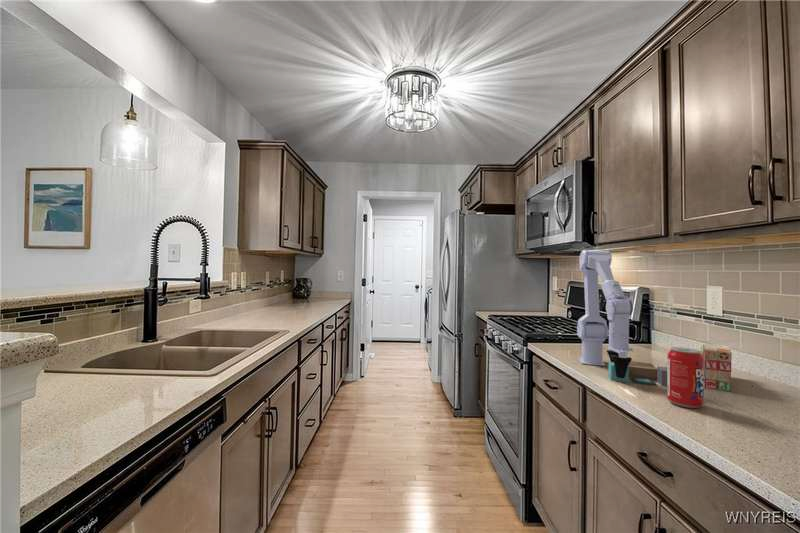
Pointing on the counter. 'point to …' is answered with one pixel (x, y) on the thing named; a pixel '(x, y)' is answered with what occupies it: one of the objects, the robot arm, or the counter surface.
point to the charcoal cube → (662, 376)
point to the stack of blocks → (717, 366)
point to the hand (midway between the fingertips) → (618, 374)
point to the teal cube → (613, 374)
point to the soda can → (685, 377)
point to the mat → (643, 381)
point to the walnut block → (642, 370)
